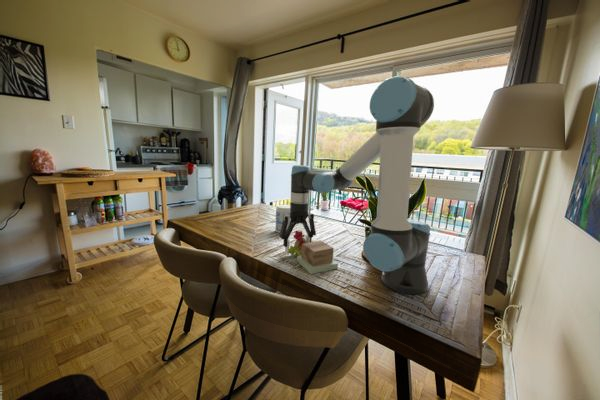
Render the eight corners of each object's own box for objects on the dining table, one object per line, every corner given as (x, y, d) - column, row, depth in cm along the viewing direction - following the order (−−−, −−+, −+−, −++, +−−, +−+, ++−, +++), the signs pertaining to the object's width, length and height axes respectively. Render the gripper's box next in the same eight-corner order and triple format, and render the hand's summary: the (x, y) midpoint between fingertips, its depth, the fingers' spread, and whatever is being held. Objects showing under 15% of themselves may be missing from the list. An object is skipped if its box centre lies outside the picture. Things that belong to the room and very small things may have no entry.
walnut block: (332, 262, 96) (333, 247, 95) (313, 266, 92) (314, 251, 91) (319, 253, 104) (320, 240, 103) (301, 257, 99) (302, 243, 98)
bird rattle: (294, 254, 111) (284, 253, 104) (300, 231, 113) (290, 228, 105) (305, 258, 108) (296, 257, 101) (311, 234, 110) (303, 231, 102)
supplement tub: (272, 232, 135) (272, 206, 132) (279, 228, 143) (280, 203, 140) (288, 235, 131) (289, 208, 128) (295, 230, 140) (295, 205, 137)
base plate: (337, 268, 95) (337, 263, 95) (310, 273, 90) (310, 268, 90) (321, 256, 106) (322, 252, 106) (297, 260, 101) (297, 256, 100)
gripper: (317, 199, 111) (314, 245, 115) (271, 201, 101) (271, 252, 106) (326, 202, 104) (323, 251, 109) (278, 205, 95) (277, 259, 99)
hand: (297, 251), depth 107 cm, fingers closed on bird rattle, 9 cm apart
